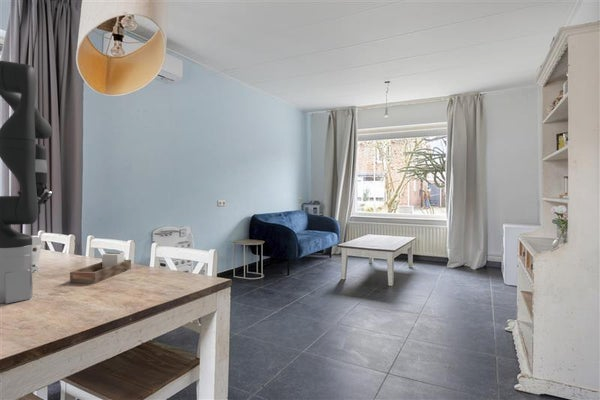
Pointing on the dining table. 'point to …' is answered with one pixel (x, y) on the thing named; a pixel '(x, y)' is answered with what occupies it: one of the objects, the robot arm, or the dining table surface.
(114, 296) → the dining table surface
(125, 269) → the wooden tray
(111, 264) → the slider block
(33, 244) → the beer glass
